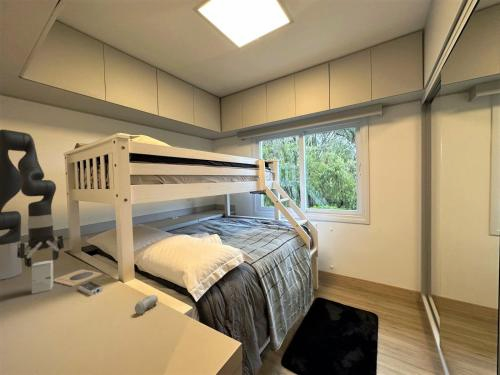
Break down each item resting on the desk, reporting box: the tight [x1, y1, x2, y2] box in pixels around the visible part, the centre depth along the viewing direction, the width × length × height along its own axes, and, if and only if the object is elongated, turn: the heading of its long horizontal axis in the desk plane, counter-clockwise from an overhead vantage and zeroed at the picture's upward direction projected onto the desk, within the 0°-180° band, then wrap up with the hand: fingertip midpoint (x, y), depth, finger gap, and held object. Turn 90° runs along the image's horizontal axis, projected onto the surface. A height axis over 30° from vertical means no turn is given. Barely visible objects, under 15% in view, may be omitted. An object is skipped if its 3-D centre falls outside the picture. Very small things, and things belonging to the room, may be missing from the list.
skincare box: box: [31, 259, 54, 295], centre depth 88 cm, size 6×4×12 cm
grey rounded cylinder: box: [134, 294, 159, 315], centre depth 72 cm, size 4×8×5 cm
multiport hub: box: [78, 280, 104, 297], centre depth 87 cm, size 4×11×2 cm, turn 60°
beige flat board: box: [53, 268, 104, 287], centre depth 100 cm, size 17×13×1 cm
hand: (42, 263), depth 88 cm, fingers open, 8 cm apart
